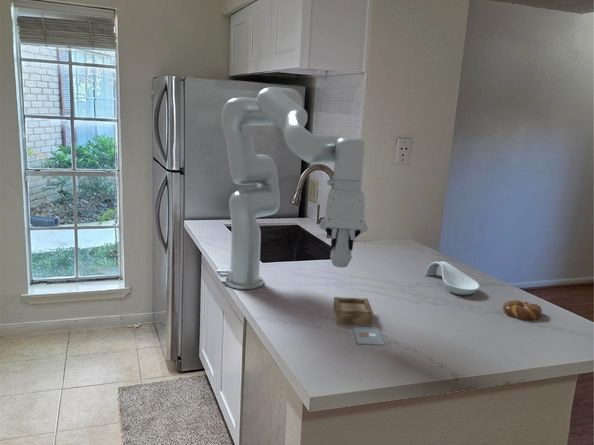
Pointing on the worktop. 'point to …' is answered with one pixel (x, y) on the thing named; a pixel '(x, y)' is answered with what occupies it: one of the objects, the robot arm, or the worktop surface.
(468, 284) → the spoon rest
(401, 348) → the worktop surface
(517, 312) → the pretzel
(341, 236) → the salt shaker
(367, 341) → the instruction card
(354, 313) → the wooden crate
